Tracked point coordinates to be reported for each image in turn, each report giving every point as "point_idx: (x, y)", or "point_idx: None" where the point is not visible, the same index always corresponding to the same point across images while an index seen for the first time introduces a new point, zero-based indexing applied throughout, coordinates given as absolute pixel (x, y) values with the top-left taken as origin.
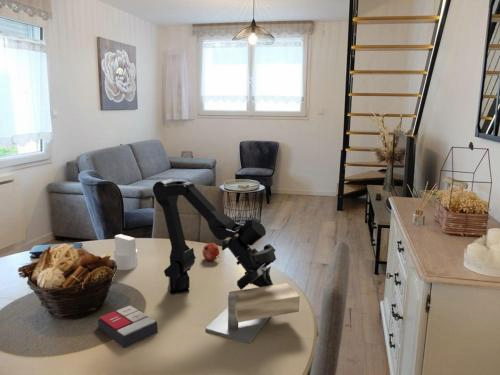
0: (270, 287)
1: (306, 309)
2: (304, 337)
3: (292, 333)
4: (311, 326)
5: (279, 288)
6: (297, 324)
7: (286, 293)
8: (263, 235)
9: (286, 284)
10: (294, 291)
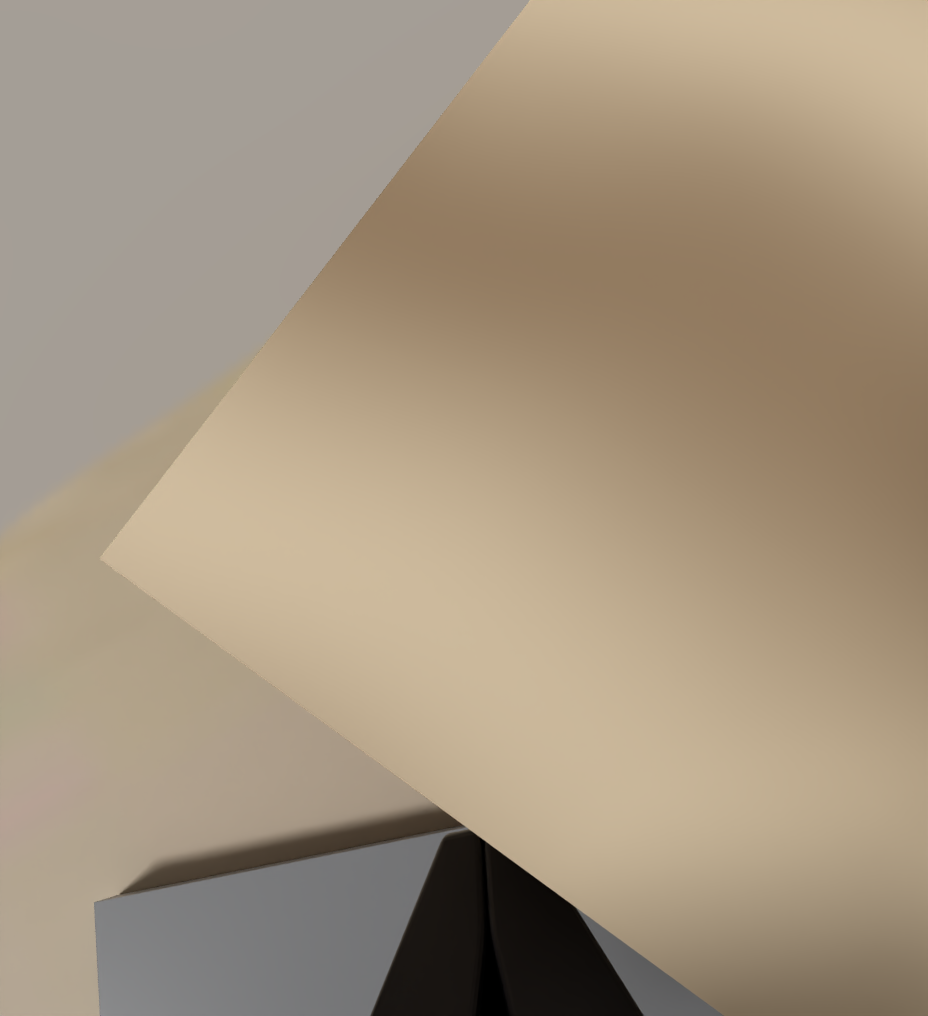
0: (813, 861)
1: (124, 472)
2: None
3: None
4: None
5: (625, 528)
6: None
7: (766, 168)
8: None
9: (202, 508)
10: (487, 80)
